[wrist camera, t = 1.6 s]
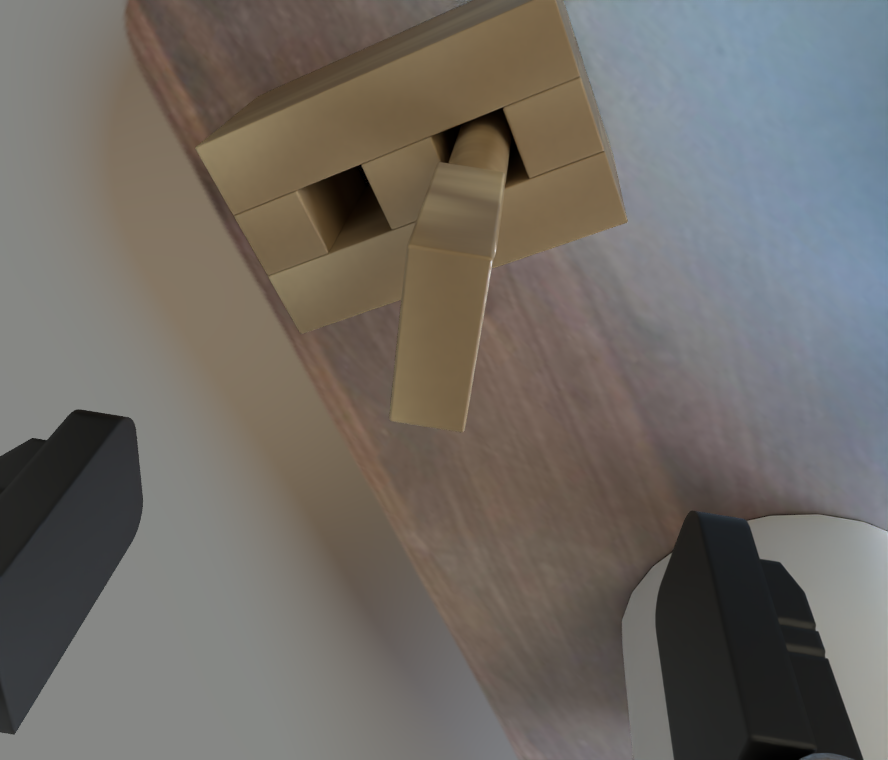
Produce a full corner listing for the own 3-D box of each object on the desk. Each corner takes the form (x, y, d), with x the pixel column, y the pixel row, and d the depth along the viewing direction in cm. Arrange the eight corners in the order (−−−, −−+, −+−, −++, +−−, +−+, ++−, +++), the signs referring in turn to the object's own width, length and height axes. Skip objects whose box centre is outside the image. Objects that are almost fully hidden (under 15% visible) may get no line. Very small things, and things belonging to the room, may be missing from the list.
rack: (257, 96, 33) (194, 148, 27) (551, -36, 29) (553, -9, 23) (340, 257, 36) (300, 334, 30) (613, 157, 33) (628, 222, 27)
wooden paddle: (462, 150, 33) (383, 421, 17) (477, 46, 31) (401, 244, 15) (507, 157, 33) (469, 434, 17) (524, 53, 31) (499, 259, 15)
